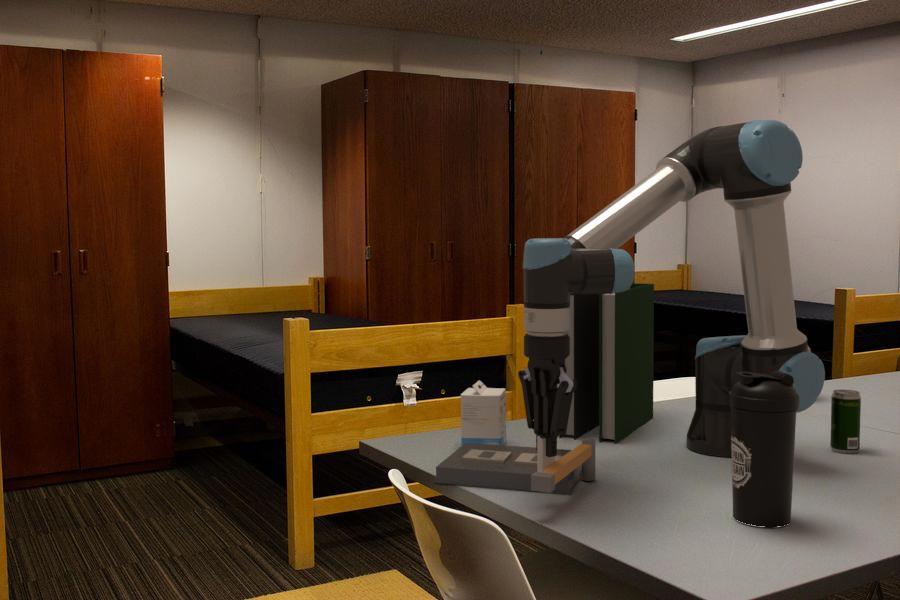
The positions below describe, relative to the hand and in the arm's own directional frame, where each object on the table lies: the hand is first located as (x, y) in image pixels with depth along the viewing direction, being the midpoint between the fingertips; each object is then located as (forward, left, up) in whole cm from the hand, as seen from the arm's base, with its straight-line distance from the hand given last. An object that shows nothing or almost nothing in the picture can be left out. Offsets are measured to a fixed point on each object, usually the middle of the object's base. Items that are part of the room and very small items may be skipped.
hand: (546, 474), depth 143 cm
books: (-2, -57, -5) cm, 57 cm away
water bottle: (-34, -2, -5) cm, 34 cm away
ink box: (+20, -34, -5) cm, 40 cm away
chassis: (+9, -15, -5) cm, 18 cm away
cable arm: (-3, -3, -5) cm, 6 cm away
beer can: (-51, -49, -5) cm, 70 cm away
